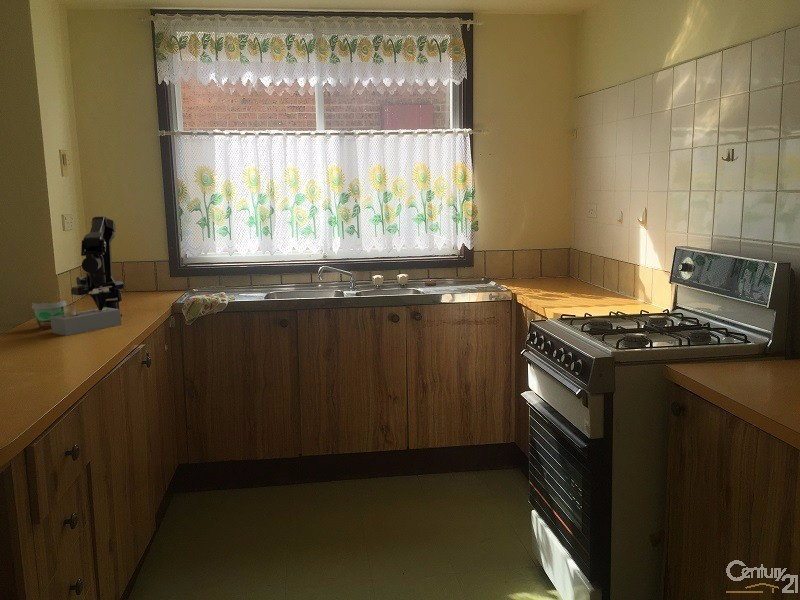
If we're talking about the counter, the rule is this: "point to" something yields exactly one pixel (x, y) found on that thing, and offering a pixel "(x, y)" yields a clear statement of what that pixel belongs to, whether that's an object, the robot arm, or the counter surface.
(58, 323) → the grey peg board
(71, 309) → the birch peg
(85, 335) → the counter surface
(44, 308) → the food container
